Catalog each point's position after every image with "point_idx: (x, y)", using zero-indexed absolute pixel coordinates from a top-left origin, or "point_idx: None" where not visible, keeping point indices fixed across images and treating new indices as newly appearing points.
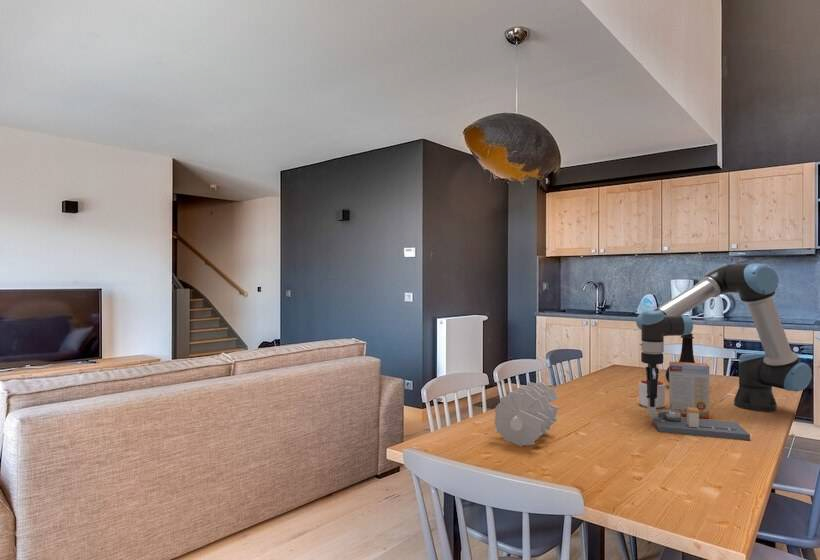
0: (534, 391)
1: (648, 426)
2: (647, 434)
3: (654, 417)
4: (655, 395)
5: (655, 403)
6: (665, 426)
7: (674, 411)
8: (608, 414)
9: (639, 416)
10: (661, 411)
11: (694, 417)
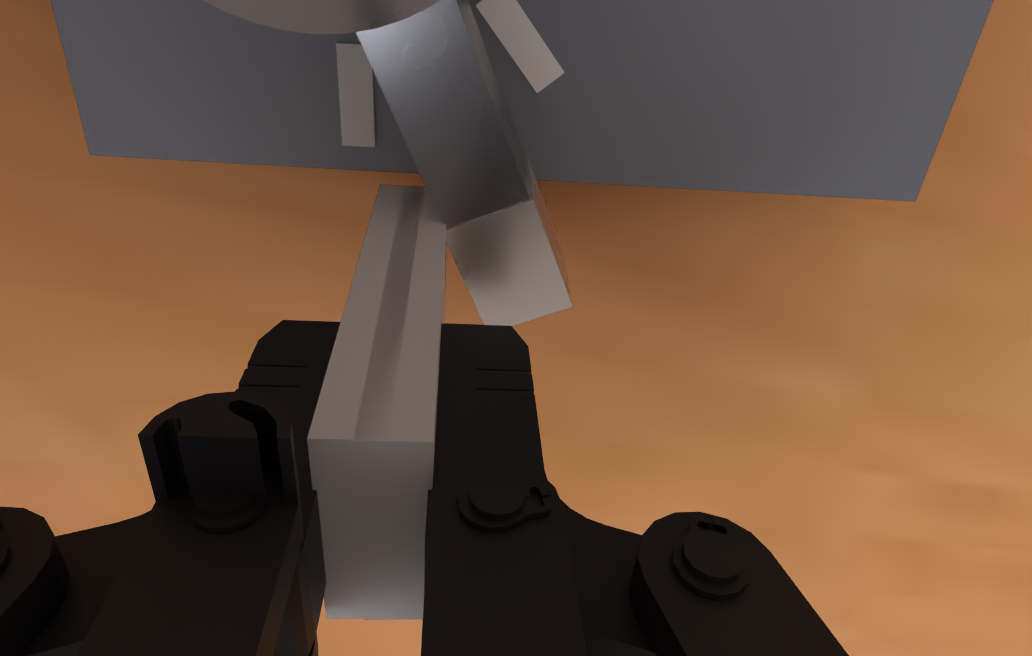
0: None
1: (579, 254)
2: (978, 332)
3: (551, 225)
4: (794, 647)
5: (436, 341)
6: (924, 84)
7: None
8: None
9: (3, 283)
10: (385, 87)
11: None
